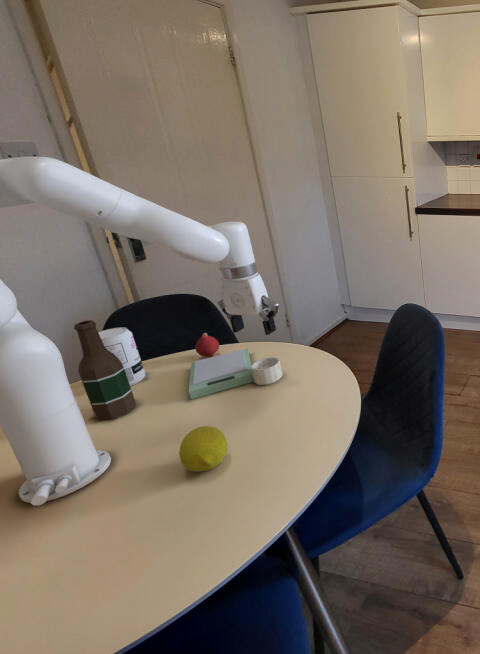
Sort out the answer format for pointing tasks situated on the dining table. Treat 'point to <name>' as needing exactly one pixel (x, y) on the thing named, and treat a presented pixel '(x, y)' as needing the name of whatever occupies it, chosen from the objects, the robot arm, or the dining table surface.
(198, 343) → the onion
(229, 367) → the scale
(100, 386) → the beer bottle
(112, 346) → the supplement can
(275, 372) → the bowl
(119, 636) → the dining table surface
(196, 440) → the lemon
